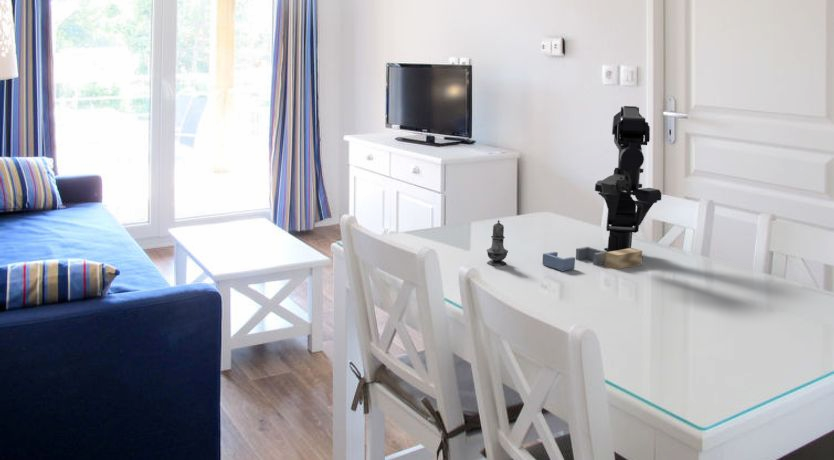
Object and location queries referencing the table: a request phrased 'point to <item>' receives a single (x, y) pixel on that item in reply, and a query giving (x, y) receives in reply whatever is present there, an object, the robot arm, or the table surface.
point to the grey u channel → (591, 255)
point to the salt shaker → (497, 247)
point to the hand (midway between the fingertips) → (625, 222)
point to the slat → (623, 258)
